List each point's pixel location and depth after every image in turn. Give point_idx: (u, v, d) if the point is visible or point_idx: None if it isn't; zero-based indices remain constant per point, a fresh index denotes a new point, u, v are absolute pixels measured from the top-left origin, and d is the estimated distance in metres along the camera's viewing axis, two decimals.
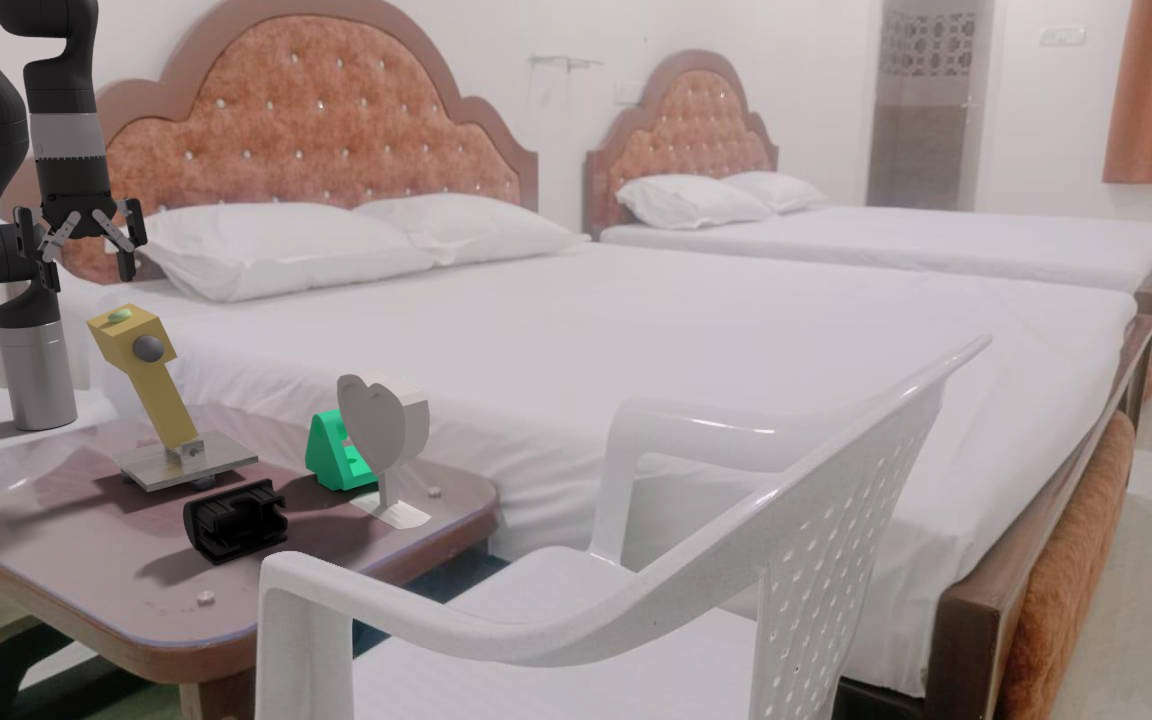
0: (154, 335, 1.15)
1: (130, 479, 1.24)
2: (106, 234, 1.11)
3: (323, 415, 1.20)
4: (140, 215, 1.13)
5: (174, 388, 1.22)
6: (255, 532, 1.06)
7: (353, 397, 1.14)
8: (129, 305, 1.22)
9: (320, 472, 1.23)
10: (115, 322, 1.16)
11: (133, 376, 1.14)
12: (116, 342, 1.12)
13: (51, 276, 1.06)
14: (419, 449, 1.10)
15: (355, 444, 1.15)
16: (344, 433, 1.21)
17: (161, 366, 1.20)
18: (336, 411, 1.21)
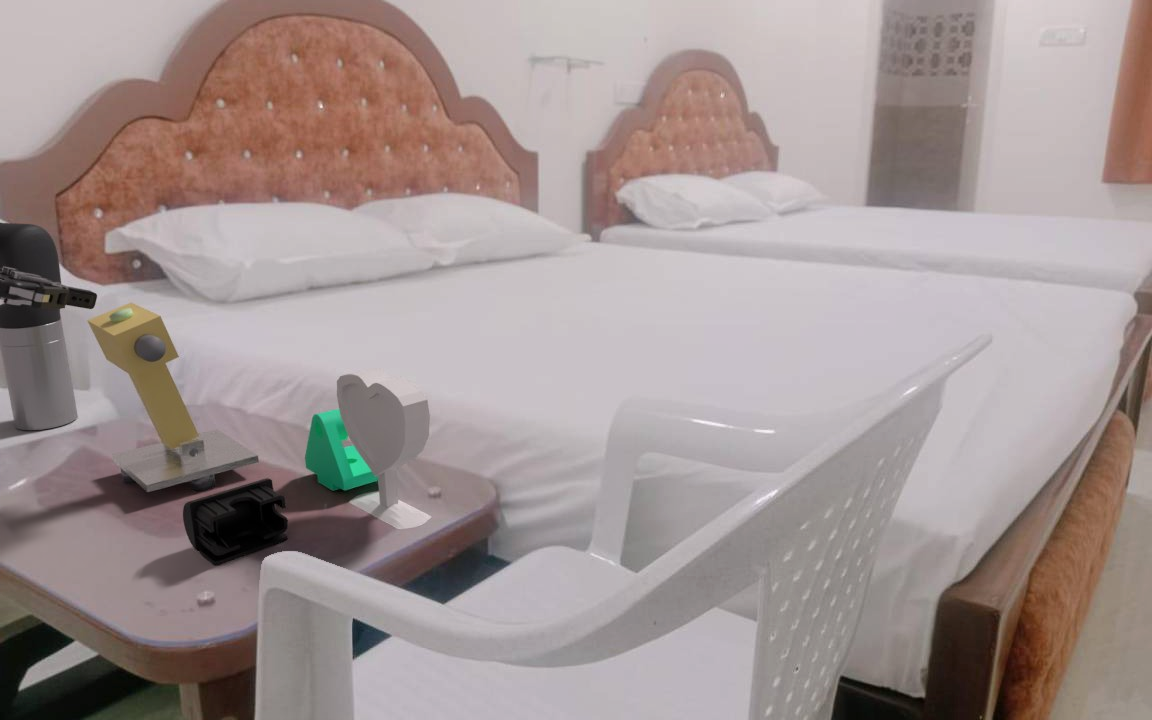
0: (156, 334, 1.15)
1: (130, 479, 1.24)
2: None
3: (323, 415, 1.20)
4: None
5: (175, 388, 1.22)
6: (255, 532, 1.06)
7: (352, 397, 1.14)
8: (131, 305, 1.22)
9: (320, 472, 1.23)
10: (117, 321, 1.16)
11: (134, 375, 1.14)
12: (118, 341, 1.12)
13: (80, 292, 1.14)
14: (419, 449, 1.10)
15: (355, 444, 1.15)
16: (344, 433, 1.21)
17: (162, 366, 1.20)
18: (336, 411, 1.21)
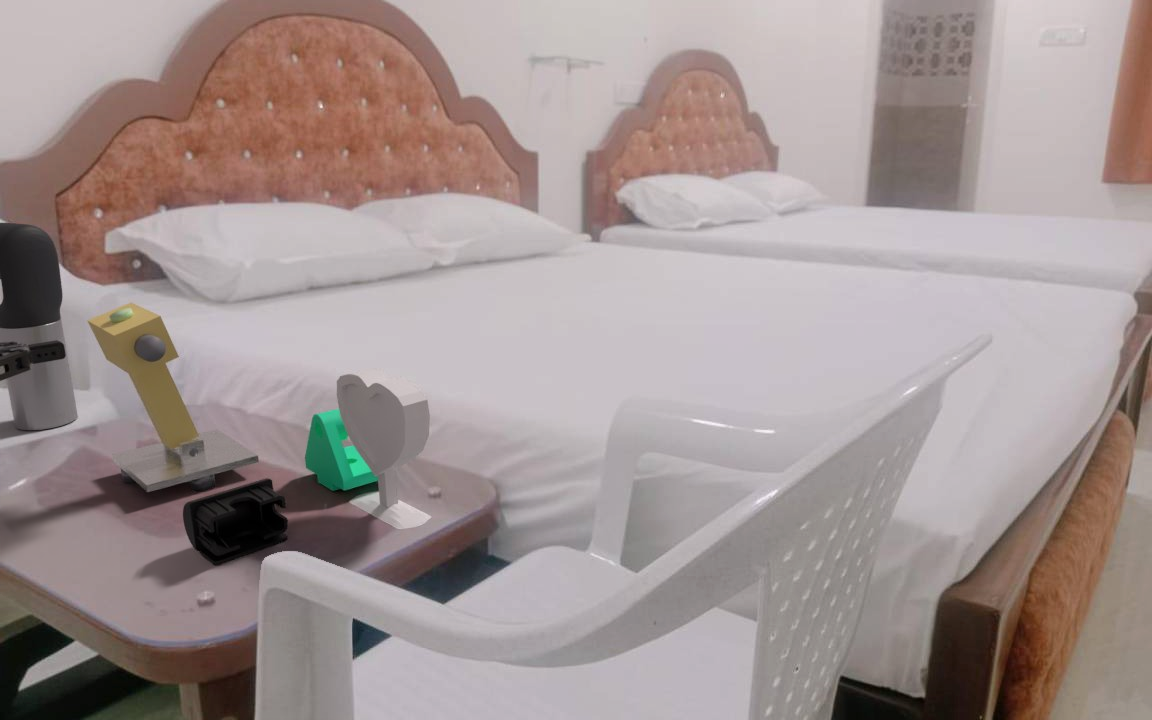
0: (156, 334, 1.15)
1: (130, 479, 1.24)
2: None
3: (323, 415, 1.20)
4: None
5: (175, 388, 1.22)
6: (255, 532, 1.06)
7: (352, 397, 1.14)
8: (131, 305, 1.22)
9: (320, 472, 1.23)
10: (117, 321, 1.16)
11: (134, 375, 1.14)
12: (118, 341, 1.12)
13: (44, 346, 1.11)
14: (419, 449, 1.10)
15: (355, 444, 1.15)
16: (344, 433, 1.21)
17: (162, 366, 1.20)
18: (336, 411, 1.21)
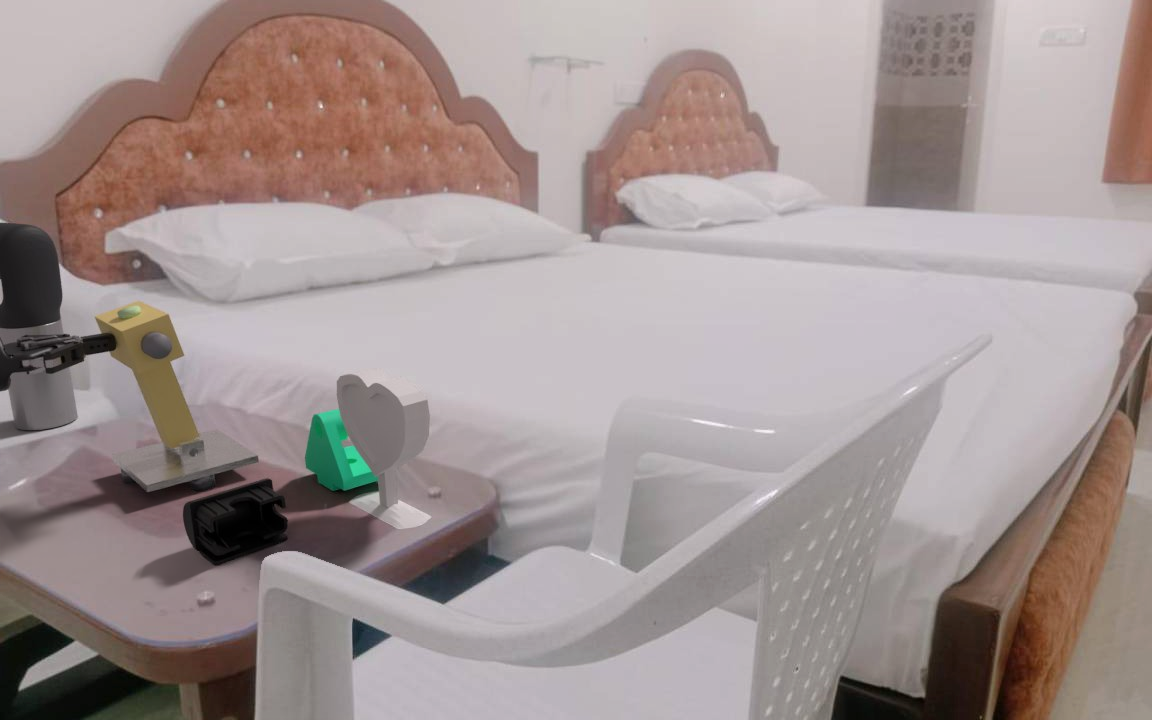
0: (163, 332, 1.16)
1: (130, 479, 1.24)
2: None
3: (322, 415, 1.20)
4: (40, 335, 1.16)
5: (178, 387, 1.22)
6: (255, 532, 1.06)
7: (352, 397, 1.14)
8: (138, 303, 1.23)
9: (320, 472, 1.23)
10: (124, 318, 1.17)
11: (139, 372, 1.15)
12: (125, 337, 1.13)
13: (96, 338, 1.15)
14: (419, 449, 1.10)
15: (355, 444, 1.15)
16: (344, 433, 1.21)
17: (167, 364, 1.21)
18: (336, 411, 1.21)
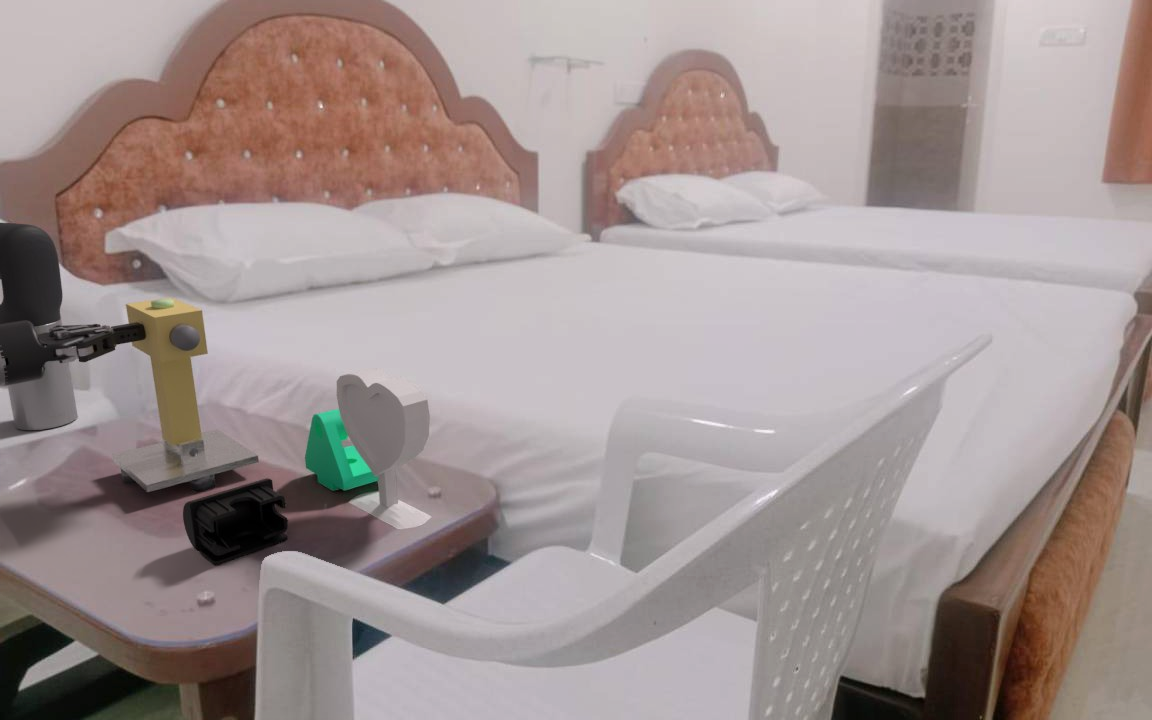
0: (193, 327, 1.18)
1: (130, 479, 1.24)
2: None
3: (322, 415, 1.20)
4: (71, 325, 1.18)
5: (192, 385, 1.24)
6: (255, 532, 1.06)
7: (352, 397, 1.14)
8: (170, 299, 1.26)
9: (320, 472, 1.23)
10: (157, 308, 1.19)
11: (162, 360, 1.16)
12: (156, 324, 1.15)
13: (126, 328, 1.17)
14: (419, 449, 1.10)
15: (355, 444, 1.15)
16: (344, 433, 1.21)
17: (187, 361, 1.22)
18: (336, 411, 1.21)
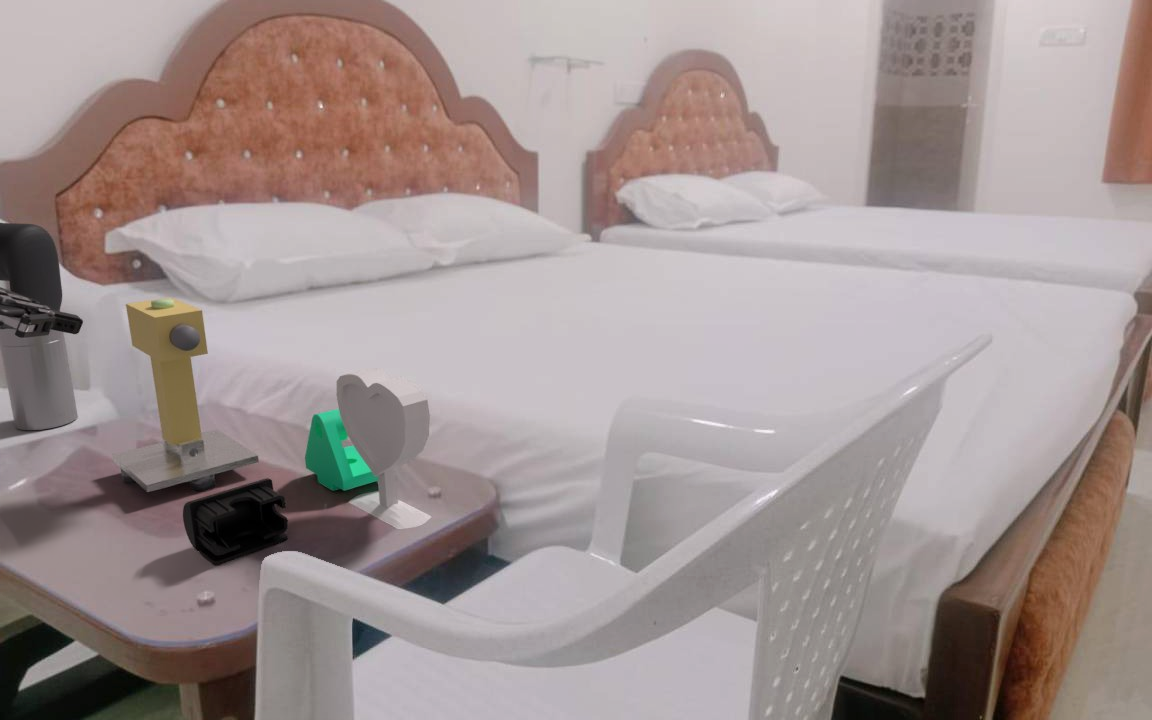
0: (193, 327, 1.18)
1: (130, 479, 1.24)
2: None
3: (322, 415, 1.20)
4: (9, 291, 1.14)
5: (193, 385, 1.24)
6: (255, 532, 1.06)
7: (352, 397, 1.14)
8: (171, 299, 1.26)
9: (320, 472, 1.23)
10: (157, 308, 1.19)
11: (162, 360, 1.16)
12: (156, 324, 1.15)
13: (67, 317, 1.15)
14: (419, 449, 1.10)
15: (355, 444, 1.15)
16: (344, 433, 1.21)
17: (187, 361, 1.22)
18: (336, 411, 1.21)
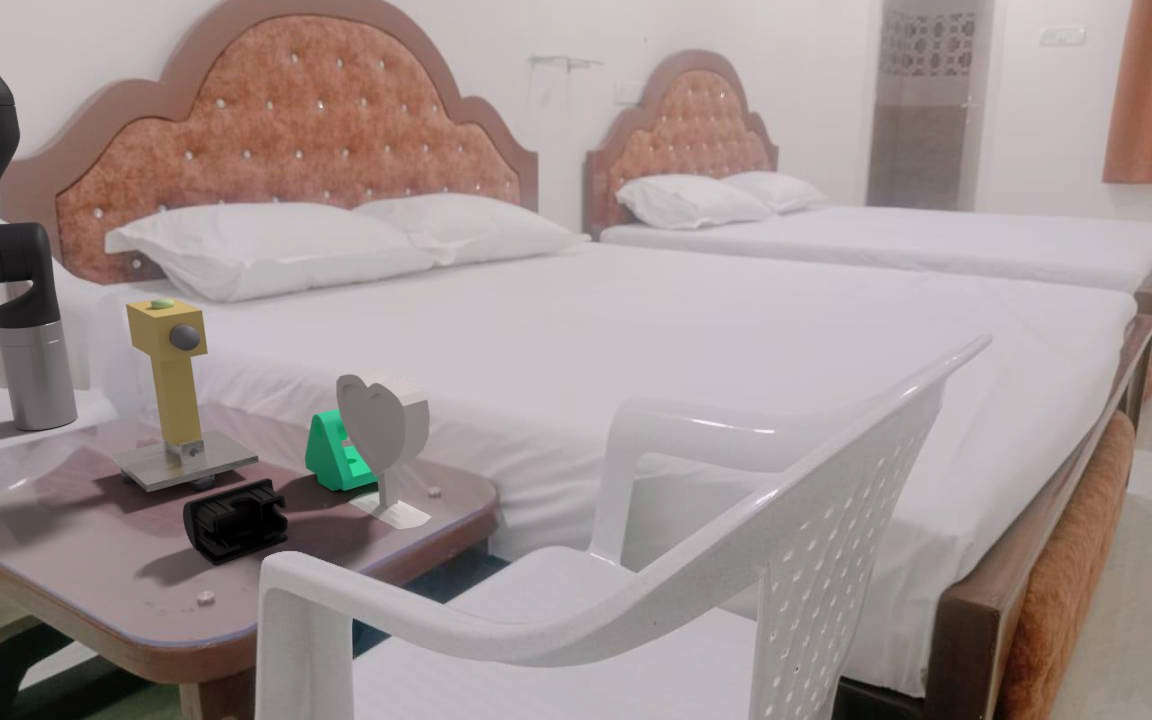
0: (193, 327, 1.18)
1: (130, 479, 1.24)
2: None
3: (322, 415, 1.20)
4: None
5: (193, 385, 1.24)
6: (255, 532, 1.06)
7: (352, 397, 1.14)
8: (171, 299, 1.26)
9: (320, 472, 1.23)
10: (157, 308, 1.19)
11: (162, 360, 1.16)
12: (156, 324, 1.15)
13: None
14: (419, 449, 1.10)
15: (355, 444, 1.15)
16: (344, 433, 1.21)
17: (187, 361, 1.22)
18: (336, 411, 1.21)
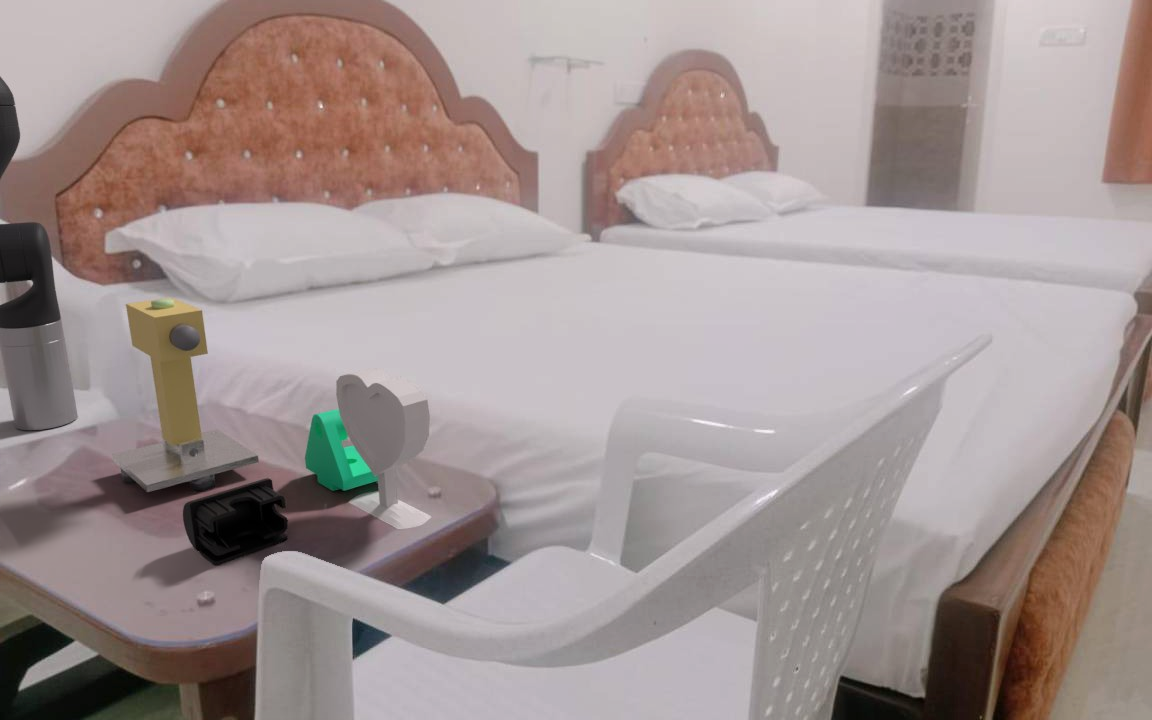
0: (193, 327, 1.18)
1: (130, 479, 1.24)
2: None
3: (322, 415, 1.20)
4: None
5: (193, 385, 1.24)
6: (255, 532, 1.06)
7: (352, 397, 1.14)
8: (171, 299, 1.26)
9: (320, 472, 1.23)
10: (157, 308, 1.19)
11: (162, 360, 1.16)
12: (156, 324, 1.15)
13: None
14: (419, 449, 1.10)
15: (355, 444, 1.15)
16: (344, 433, 1.21)
17: (187, 361, 1.22)
18: (336, 411, 1.21)
